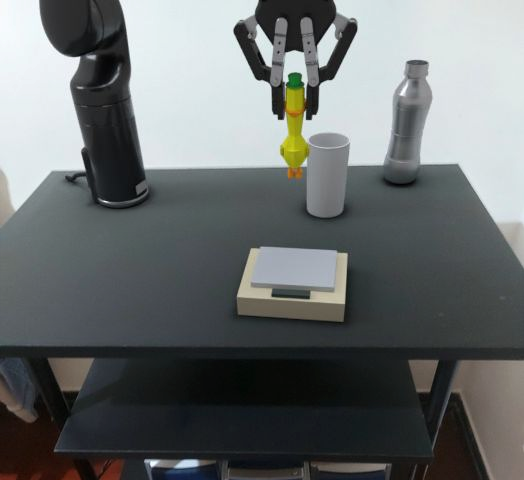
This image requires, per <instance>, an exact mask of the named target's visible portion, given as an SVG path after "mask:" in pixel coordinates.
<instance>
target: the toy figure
mask: <svg viewBox="0 0 524 480" xmlns="http://www.w3.org/2000/svg"><path fill="white" fill-rule="evenodd" d="M287 79H288V81H286V82H285V103H284V111H285V117H286V124H287V133H288V135H287V136H286V138H285V139H284V140H283V141H282V143H281V144H280V145H279V154H280V156H281V157H282V158H283V160H284V161H285V163H286V165H287V166H288V168H287V178H288V180H291V179H292V180H293V179H294V178H295V179H296V180H301V178H302V177H303V170H304V169H302V168H301V166H302V165H303V164H304V162H305V161H306V160H307V156H309V154H310V145H308V144H307V140H305V137H304V136H303V135H302V132H303V123H304V117H305V113H306V87H305V82H304V81H302V79H303V74H302V73H301V72H296V71H293V72H289V73H288V74H287Z"/></svg>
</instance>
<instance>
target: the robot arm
mask: <svg viewBox="0 0 524 480" xmlns="http://www.w3.org/2000/svg"><path fill="white" fill-rule="evenodd" d="M38 9H39V17H40V22H41V25H42V28H43V31H44V34H45V36H46V37H47V40H48V41H49V43H50V44H51V45H52V47H53V48H54V49H55V50H56V51H57V52H58V53H59V54H60V55H63V56H65V57H68V58H79V62H78V66H77V68H76V70H75V72H74V74H73V75H72V77H71V79H70V81H69V90H70V95H71V98H72V101H73V103H72V104H73V107H74V110H75V114H76V118H77V122H78V127H79V130H80V134H81V138H82V142H83V146H84V147H82V148H81V149H80V154H81V158H82V162H83V167H84V169H85V171H84V172H77V173H74V174H73V175H72V176H70V175H67V174H66V175H65V176H64V179H65V180H67V181H70V182H74V181H75V180H76V179H77V178H83V177H85V178H86V179H85V180H86V182H87V186H88V188H89V190H90V193H91V198H92V201H93V203H94V204H100V205H101V206H103V207H106V208H113V209H114V208H115V209H119V208H121V209H122V208H128V207H133V206H136V205H138V204H140V203H143V202H144V201H145V200H146V199H147V198H148V197H149V195H150V190H149V183H148V179H147V177H146V170H145V165H144V160H143V153H142V149H141V142H140V137H139V132H138V128H137V127H138V126H137V121H136V115H135V110H134V104H133V98H132V92H131V86H130V83H131V77H132V61H131V55H130V47H129V39H128V38H129V37H128V31H127V23H126V19H125V18H126V17H125V13H124V11H123V7H122V3H121V1H120V0H38ZM332 25H333V26H334V27H335V30H334V38H335V40H337V41H336V44H335V46H334V47H333V50H332V53H331V54H330V56H329V58H328V60H327V63H326V65H323V66H320V60H319V49H318V48H319V47H318V46H319V44H320V42H321V41H322V40H323V38H324V36H325V35H326V33H327V32H328V31H329V29H330V27H331V26H332ZM257 26H259V27H260V29H261V30H262V32H263V34H264V35H265V37H266V38H267V40H268V41H269V42H270V44H271V45H272V47H273V48H272V57H271V66H269V65H267V63H266V61H265V59H264V57H263V55H262V53H261V50H260V49H259V46H258V44H257V42H256V39H257V37H258V30H257V28H258V27H257ZM358 27H359V25H358V20H357V19H356V18H355V17H350V18H349V17H348V16H345V15H343V14H341V13H340V12H337V5H336V4H335V0H258V2H257V4H256V6H255V10H254V14H252V15H250V16H248V17H247V18H245V19H239V20H238V21H237V22H236V23H235V25H234V27H233V30H232V32H233V35H234V37H235V39H236V41H237V43H238V46H239V48H240V50H241V52H242V54H243V56H244V59H245V61H246V62H247V64H248V66H249V69H250V71H251V73H252V75H253V78H254V79H255V80H256V81H257V82H258V81H259V82H266V83H268V84H269V87H270V89H271V90H270V91H271V95H270V96H271V112H272V115H273V116H277V121H284V120H285V119H286V118H285V117H286V112H285V111H284V103H285V101H286V81H284V72H285V71H284V70H285V62H286V57H287V53H290V52H295V51H296V52H299V53H303V56H304V64H305V68H306V77H307V83H306V86H305V98H306V111H305V121H312V120H313V116H317V114H318V113H319V108H320V86H321V85H322V84H323V83H325V82H327V81H333V80H334V79H335V78H336V76H337V74H338V72H339V70H340V68H341V65H342V64H343V61H344V59H345V57H346V56H347V53H348V52H349V50H350V48H351V45H352V43H353V41H354V40H355V37H356V35H357V33H358V31H359V28H358Z"/></svg>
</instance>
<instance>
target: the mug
mask: <svg viewBox="0 0 524 480" xmlns="http://www.w3.org/2000/svg"><path fill="white" fill-rule="evenodd" d="M306 142H307V144H308V145H310V154H309V156H307V158H306V210H307V212H308V213H309V215H311V216H313V217H317V218H322V219H328V218H334V217H338V216H339V215H341V214H342V213H343V211H344V206H345V199H346V198H345V197H346V189H347V188H346V186H347V178H348V170H349V169H348V167H349V157H350V149H351V148H350V147H351V138H350V137H349V136H348V135H346V134H345V133H341V132H337V131H336V132H335V131H322V132H321V131H320V132H316V133H313V134H311V135H309V136H308V138H307V140H306Z"/></svg>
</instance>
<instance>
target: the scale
mask: <svg viewBox="0 0 524 480" xmlns="http://www.w3.org/2000/svg"><path fill="white" fill-rule="evenodd" d="M347 271H348V253H347V252H338V250H333V249H316V248H297V247H276V246H260V247H259V248H257V247H256V248H253V247H250V251H249V254H248V258H247V261H246V264H245V267H244V271H243V274H242V278H241V281H240V283H239V284H240V285H239V288H238V291H237V295H236V306H237V315H238V316H251V317H264V318H266V317H267V318H281V319H296V320H307V321H308V320H309V321H322V322H323V321H324V322H339V323H344V320H345V311H346V310H345V309H346V297H347V296H346V293H347V275H348V274H347V273H348V272H347Z"/></svg>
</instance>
